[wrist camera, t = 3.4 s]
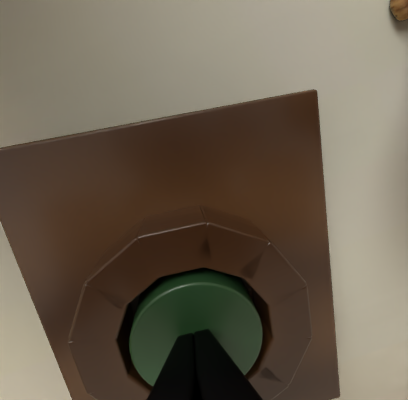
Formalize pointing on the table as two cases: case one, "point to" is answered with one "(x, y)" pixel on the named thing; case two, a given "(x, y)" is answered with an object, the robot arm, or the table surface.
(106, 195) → the button box
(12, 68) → the table surface
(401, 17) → the lion figurine
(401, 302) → the table surface
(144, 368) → the button
